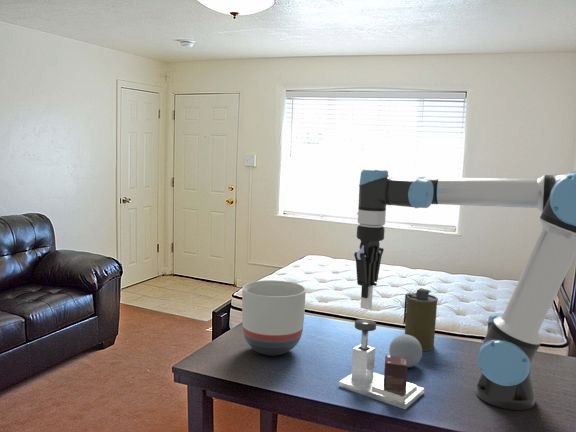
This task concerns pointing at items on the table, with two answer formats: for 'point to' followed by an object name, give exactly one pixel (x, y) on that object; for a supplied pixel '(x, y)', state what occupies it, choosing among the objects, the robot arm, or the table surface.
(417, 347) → the decorative stone
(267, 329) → the planter
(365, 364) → the press
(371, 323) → the plunger
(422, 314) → the canister
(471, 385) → the table surface
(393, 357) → the box
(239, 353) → the table surface
